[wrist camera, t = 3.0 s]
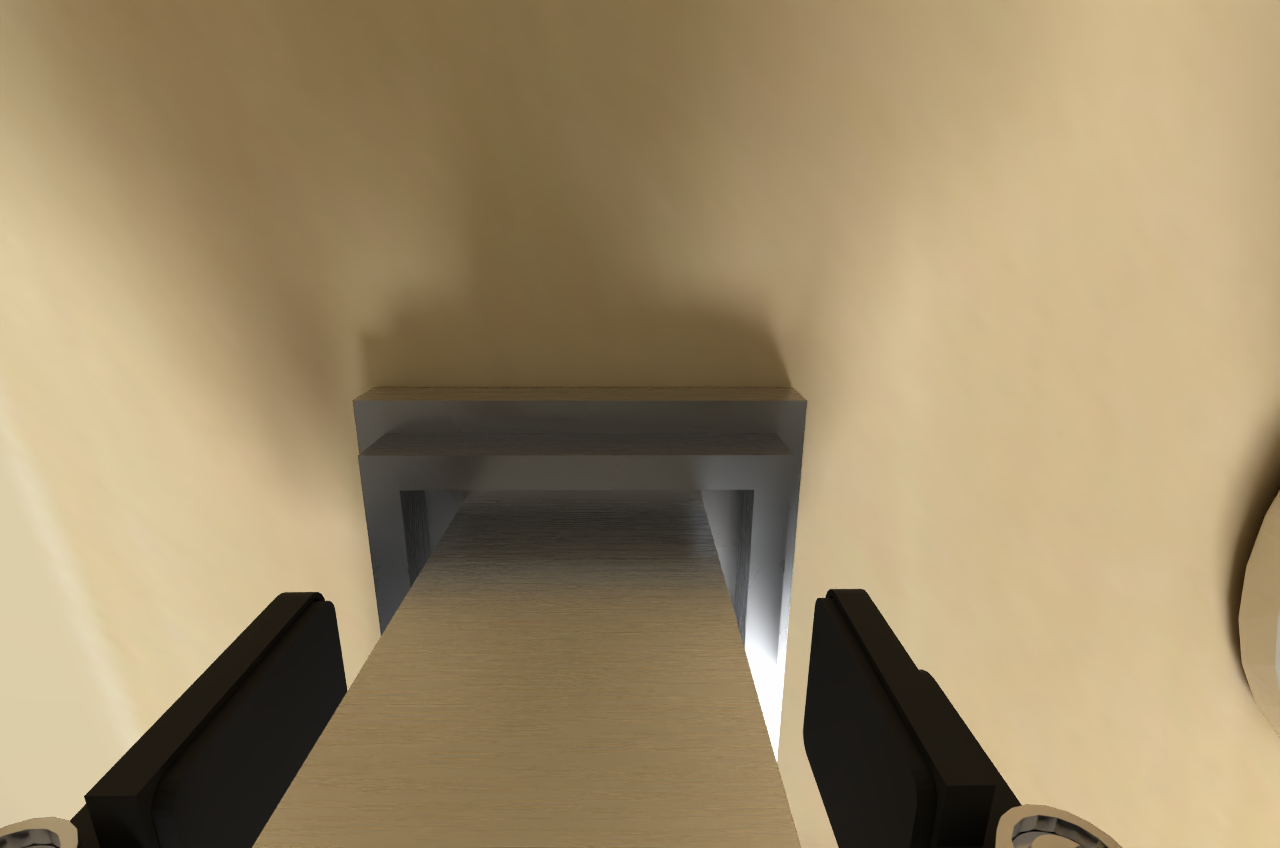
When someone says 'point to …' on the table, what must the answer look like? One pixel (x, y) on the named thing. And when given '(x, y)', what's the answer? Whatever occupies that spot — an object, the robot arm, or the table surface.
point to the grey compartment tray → (595, 479)
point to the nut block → (551, 696)
